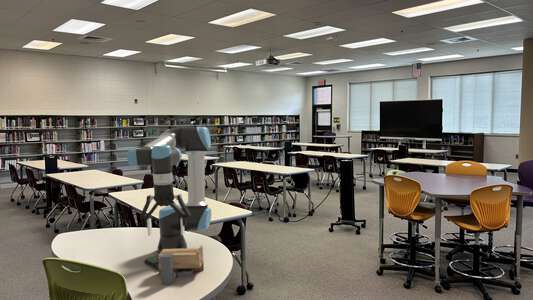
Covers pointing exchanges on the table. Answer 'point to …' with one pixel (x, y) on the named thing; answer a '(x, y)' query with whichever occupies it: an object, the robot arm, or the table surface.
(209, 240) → the table surface
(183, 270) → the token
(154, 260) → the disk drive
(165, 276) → the grey rectangular block
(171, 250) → the cabinet
